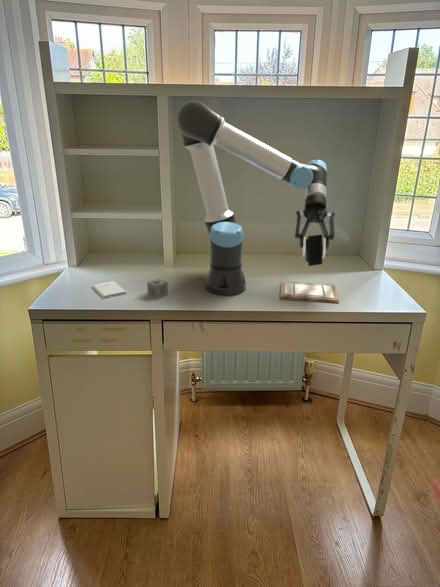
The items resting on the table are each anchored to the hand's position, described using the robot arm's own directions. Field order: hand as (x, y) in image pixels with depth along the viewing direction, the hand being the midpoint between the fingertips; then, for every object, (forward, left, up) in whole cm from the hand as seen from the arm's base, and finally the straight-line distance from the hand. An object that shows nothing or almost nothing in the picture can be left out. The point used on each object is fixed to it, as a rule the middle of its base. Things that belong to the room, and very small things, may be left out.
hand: (313, 255), depth 143 cm
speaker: (-3, +2, -4) cm, 5 cm away
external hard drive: (-45, -56, -16) cm, 74 cm away
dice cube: (-32, -44, -15) cm, 56 cm away
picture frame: (-3, +2, -15) cm, 16 cm away
